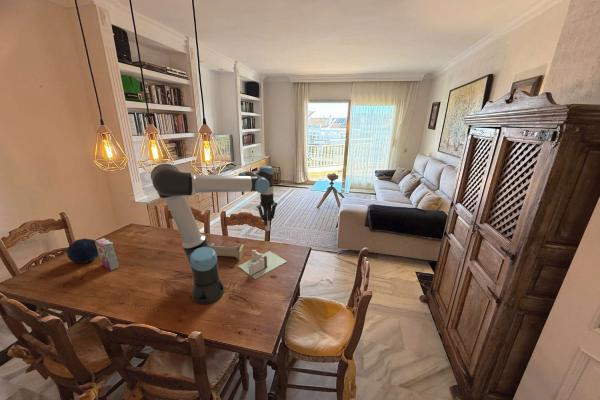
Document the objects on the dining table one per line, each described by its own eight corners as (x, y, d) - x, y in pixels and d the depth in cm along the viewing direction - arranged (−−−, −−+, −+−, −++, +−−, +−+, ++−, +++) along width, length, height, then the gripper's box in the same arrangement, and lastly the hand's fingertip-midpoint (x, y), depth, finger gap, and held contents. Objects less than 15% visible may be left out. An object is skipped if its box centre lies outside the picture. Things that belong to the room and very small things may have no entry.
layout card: (254, 279, 130) (254, 278, 130) (238, 266, 141) (238, 265, 141) (287, 261, 146) (286, 261, 146) (269, 251, 157) (269, 250, 157)
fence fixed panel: (250, 276, 132) (249, 265, 129) (248, 274, 133) (248, 263, 131) (267, 267, 140) (267, 256, 138) (266, 265, 141) (265, 255, 139)
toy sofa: (244, 253, 155) (243, 239, 152) (240, 260, 147) (239, 246, 143) (213, 252, 156) (211, 238, 152) (207, 259, 148) (205, 245, 144)
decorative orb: (93, 259, 136) (94, 234, 140) (59, 264, 131) (61, 238, 135) (104, 261, 149) (104, 238, 153) (74, 266, 143) (75, 242, 148)
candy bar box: (101, 265, 140) (94, 240, 134) (111, 261, 144) (104, 237, 138) (110, 271, 134) (103, 246, 129) (120, 267, 138) (113, 242, 133)
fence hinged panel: (265, 265, 141) (264, 255, 139) (263, 266, 140) (262, 256, 138) (254, 257, 148) (253, 248, 146) (252, 258, 147) (251, 249, 145)
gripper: (273, 189, 143) (273, 225, 150) (253, 193, 135) (255, 230, 143) (279, 192, 137) (280, 229, 144) (259, 196, 130) (260, 235, 137)
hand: (267, 229), depth 144 cm, fingers closed
